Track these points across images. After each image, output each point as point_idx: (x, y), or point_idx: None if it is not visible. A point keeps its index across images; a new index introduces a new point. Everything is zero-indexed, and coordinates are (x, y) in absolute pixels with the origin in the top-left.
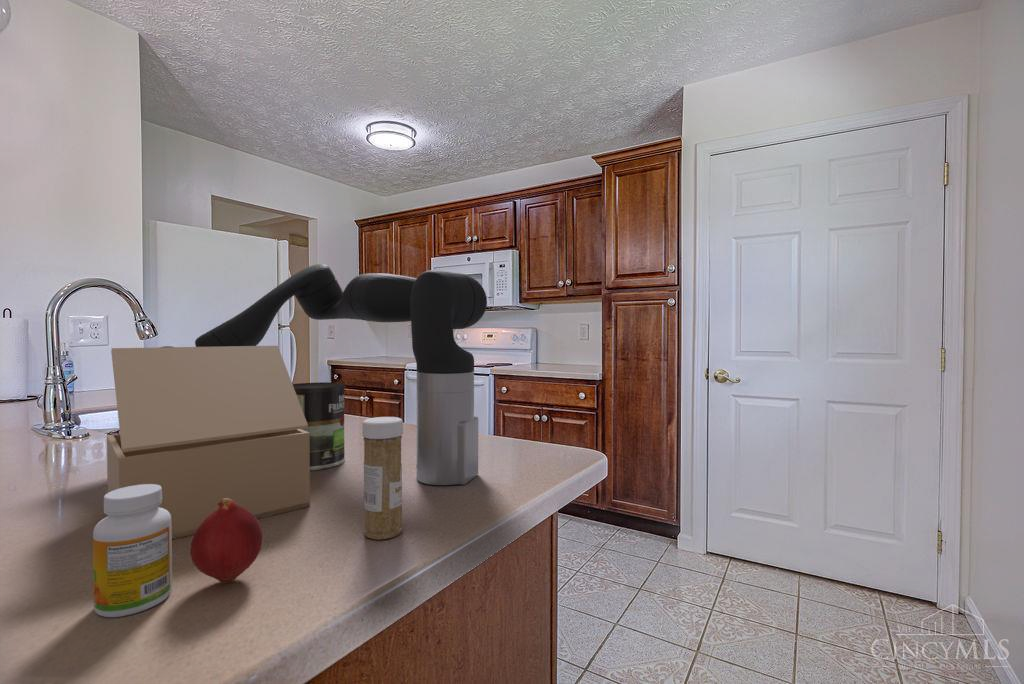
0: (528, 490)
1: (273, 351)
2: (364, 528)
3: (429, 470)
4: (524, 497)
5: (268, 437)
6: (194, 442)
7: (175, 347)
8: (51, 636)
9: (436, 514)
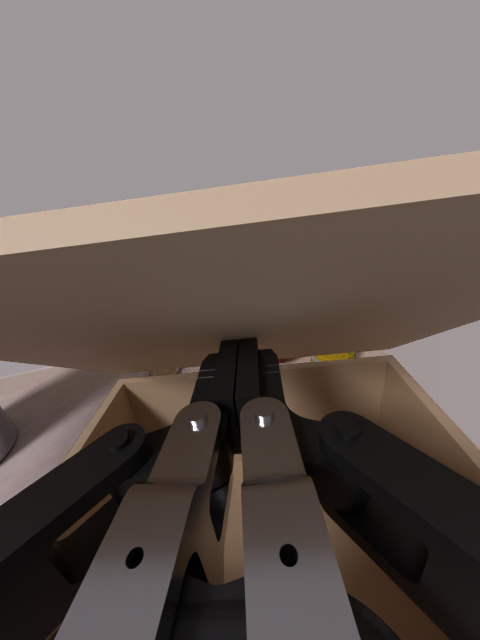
0: (19, 381)
1: None
2: (175, 370)
3: (4, 429)
4: (43, 372)
5: (182, 377)
6: (293, 357)
7: (417, 162)
8: (367, 353)
9: (111, 378)
